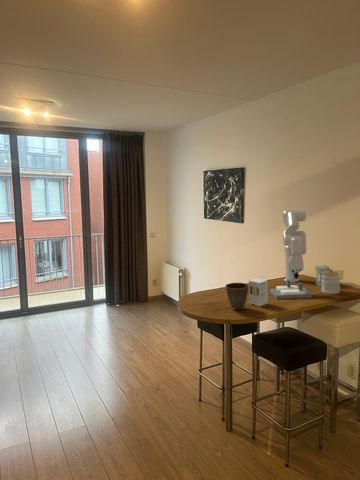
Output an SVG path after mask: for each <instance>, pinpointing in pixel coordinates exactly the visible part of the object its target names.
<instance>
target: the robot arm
mask: <svg viewBox="0 0 360 480" xmlns="http://www.w3.org/2000/svg"><path fill="white" fill-rule="evenodd" d="M282 219H283V222H284V223H283V224H284V226H285V229H284V231H283V234H282V241H283V245H284V254H285V277H284V278H283V281H285V282H286V279H289V280H290V283H296V282H297V283H298V282H299V281H300V279H299V274H300V272H302V271H304V268H305V267H304V258H303V256H305V255H306V254H307V235H306V232H305V231H303V230H299V229H300V222H306V219H307V213H306V211H305V210H304V209H287V210H286V209H285V210H284V211H283V212H282Z"/></svg>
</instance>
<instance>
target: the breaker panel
mask: <svg viewBox="0 0 360 480" xmlns="http://www.w3.org/2000/svg"><path fill="white" fill-rule="evenodd" d="M275 287H276V288H269V293H270V294H271V295H272V296H273V297H274V299H276V300H285V299H301V298H302V299H303V298H304V299H306V298H313V293H312V292H310V291H309V290H307V288H305V287H303V286H302V291H300V290H298V284H296V285H291V284H290V287H287V286H286V285H278V286H277V285H276V286H275Z"/></svg>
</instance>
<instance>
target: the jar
mask: <svg viewBox="0 0 360 480" xmlns="http://www.w3.org/2000/svg"><path fill="white" fill-rule="evenodd" d="M321 277H322V280H321V281H322V286H321V287H320V288H321V293H323V294H328V295H336V294H337V295H338V294H340V293H341V280H340V279H341V276H340V273H339V272H337V271H335V270H333V268H329V271H325V272H323V275H322V276H321Z"/></svg>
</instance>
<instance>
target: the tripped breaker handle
mask: <svg viewBox="0 0 360 480" xmlns="http://www.w3.org/2000/svg"><path fill="white" fill-rule="evenodd" d="M285 286H287V287H290V286H291V282H290V280H289V279H286V281H285Z"/></svg>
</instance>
